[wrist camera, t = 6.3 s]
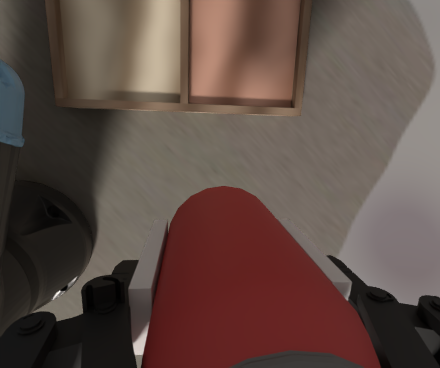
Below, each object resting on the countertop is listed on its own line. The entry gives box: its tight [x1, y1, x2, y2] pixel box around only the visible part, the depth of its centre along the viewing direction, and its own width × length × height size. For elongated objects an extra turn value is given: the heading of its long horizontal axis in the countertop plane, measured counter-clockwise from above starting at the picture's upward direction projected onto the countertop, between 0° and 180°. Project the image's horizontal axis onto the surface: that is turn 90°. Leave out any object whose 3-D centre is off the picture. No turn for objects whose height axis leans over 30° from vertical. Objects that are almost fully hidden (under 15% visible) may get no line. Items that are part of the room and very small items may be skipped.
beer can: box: [141, 186, 381, 368], centre depth 11 cm, size 7×7×12 cm
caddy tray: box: [45, 0, 312, 116], centre depth 28 cm, size 26×14×3 cm, turn 88°
